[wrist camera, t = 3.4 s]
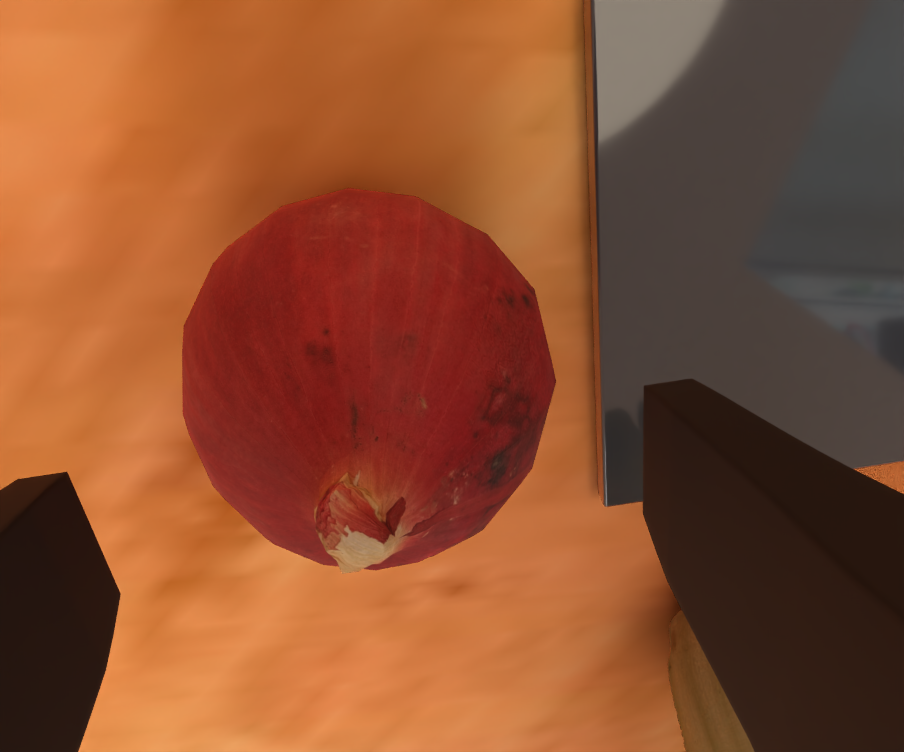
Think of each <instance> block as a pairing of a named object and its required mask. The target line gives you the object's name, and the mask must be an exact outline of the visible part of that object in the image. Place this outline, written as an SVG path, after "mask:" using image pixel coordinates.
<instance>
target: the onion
mask: <svg viewBox="0 0 904 752" xmlns="http://www.w3.org/2000/svg"><path fill="white" fill-rule="evenodd" d="M182 378H183V416H184V419H185V422H186V426H187V429H188V432H189V435H190V437H191V439H192V442H193V444H194V446H195V448H196V450H197V452H198V454H199V457H200V459H201V461H202V463H203V465H204V467H205V469H206V472H207V474H208V476H209V478H210V480H211V482H212V485H213V487H214V488H215V489H216V490H217V491H218V492H219V493H220V494H221V495H222V497H223V498H224V499H225V500H226V501H227V502H228V503H229V504H230V505H231V506H232V507H234V508H235V509H236V510H237V511H238V512H239V513H240V514H241V515H242V516H243V517H244V518H245V519H246V520H247V521H248V522H249V523H250V524H251V525H252V526H253V527H254V528H256V529H257V530H258V531H259V532H260V533H261V534H262V535H263V536H264V537H265V538H266V539H268V540H269V541H270V542H272V543H273V544H275V545H277V546H279V547H282V548H284V549H287V550H289V551H291V552H294V553H296V554H299V555H301V556H303V557H306V558H308V559H311V560H313V561H316V562H318V563H320V564H323V565H330V566H339V567H340V570H341V572H342V573H351V572H358V571H360V570H362V569H369V570H379V569H384V568H389V567H395V566H400V565H406V564H411V563H416V562H420V561H422V560H424V559H426V558H428V557H431V556H434V555H436V554H438V553H440V552H442V551H444V550H446V549H448V548H450V547H452V546H454V545H456V544H458V543H460V542H462V541H464V540H466V539H468V538H470V537H472V536H474V535H475V534H477V533H478V532H480V531H481V530H483V529H484V528H485V527H486V525H487V524H488V523H489V522H490V520H491V519H492V518H493V517H494V516H495V514H496V513H497V512H498V511H499V509H500V508H501V507H502V506H503V505H504V503H505V502H506V501H507V500H508V498H509V497H510V496H511V495H512V494H513V492H514V491H515V490H516V489H517V487H518V486H519V485H520V484H521V483H522V481H523V480H524V478H525V477H526V476H527V474H528V473H529V472H530V470H531V469H532V467H533V463H534V460H535V456H536V453H537V449H538V445H539V442H540V438H541V434H542V431H543V427H544V424H545V420H546V416H547V413H548V409H549V405H550V402H551V398H552V394H553V391H554V387H555V383H556V379H555V374H554V370H553V365H552V360H551V356H550V352H549V348H548V344H547V340H546V335H545V331H544V327H543V323H542V319H541V315H540V310H539V306H538V302H537V298H536V294H535V290H534V288H533V287H532V286H531V285H530V284H529V283H528V281H527V280H526V279H525V278H524V277H523V276H522V274H521V273H520V272H519V271H518V270H517V269H516V267H515V266H514V265H513V264H512V263H511V261H510V260H509V259H508V258H507V257H506V256H505V254H504V253H503V252H502V251H501V250H500V249H499V247H498V246H497V245H496V244H495V243H494V242H493V240H492V239H491V238H490V237H489V236H488V235H487V234H486V233H484V232H482V231H480V230H478V229H476V228H474V227H472V226H470V225H468V224H466V223H464V222H462V221H460V220H459V219H457V218H455V217H453V216H451V215H449V214H448V213H446V212H444V211H442V210H440V209H438V208H436V207H435V206H433V205H431V204H429V203H427V202H425V201H424V200H422V199H420V198H418V197H416V196H409V195H401V194H393V193H385V192H377V191H369V190H361V189H353V188H347V189H343V190H339V191H336V192H332V193H328V194H325V195H321V196H317V197H314V198H310V199H306V200H303V201H299V202H295V203H292V204H288V205H284V206H281V207H280V208H279V209H277V210H276V211H275V212H273V213H272V214H271V215H269V216H268V217H267V218H265V219H264V220H263V221H261V222H260V223H259V224H257V225H256V226H255V227H253V228H252V229H251V230H249V231H248V232H247V233H245V234H244V235H243V236H241V237H240V238H239V239H237V240H236V241H235V242H233V243H232V244H231V245H229V246H228V247H227V248H226V249H225V251H224V252H223V253H222V254H221V255H220V256H219V257H218V259H217V260H216V261H215V262H214V263H213V265H212V267H211V269H210V271H209V273H208V275H207V278H206V280H205V282H204V284H203V286H202V288H201V290H200V292H199V295H198V297H197V299H196V301H195V303H194V305H193V307H192V309H191V312H190V314H189V316H188V318H187V320H186V322H185V324H184V332H183V349H182Z"/></svg>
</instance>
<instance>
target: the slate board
mask: <svg viewBox="0 0 904 752" xmlns="http://www.w3.org/2000/svg"><path fill="white" fill-rule="evenodd" d="M583 2H584V35H585V68H586V101H587V135H588V168H589V201H590V234H591V268H592V301H593V334H594V368H595V401H596V434H597V467H598V493H599V496H600V498H601V500H602V503H603V505H604V506H605V507H610V506H616V505H623V504H629V503H636V502H642V501H643V410H644V385H651V384H657V383H664V382H671V381H677V380H684V379H691V378H692V379H694V380H696V381H698V382H700V383H702V384H704V385H705V386H707V387H709V388H711V389H713V390H714V391H716V392H718V393H720V394H721V395H723V396H725V397H727V398H728V399H730V400H732V401H733V402H735V403H737V404H738V405H740V406H742V407H744V408H745V409H747V410H749V411H750V412H752V413H754V414H755V415H757V416H759V417H761V418H762V419H764V420H766V421H767V422H769V423H771V424H772V425H774V426H776V427H778V428H779V429H781V430H783V431H785V432H786V433H788V434H790V435H792V436H793V437H795V438H797V439H799V440H800V441H802V442H804V443H806V444H808V445H809V446H811V447H813V448H815V449H816V450H818V451H820V452H822V453H824V454H826V455H827V456H829V457H831V458H833V459H835V460H837V461H839V462H841V463H842V464H844V465H846V466H848V467H850V468H852V469H857V468H864V467H870V466H877V465H883V464H890V463H896V462H903V461H904V0H583Z"/></svg>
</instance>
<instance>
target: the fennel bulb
mask: <svg viewBox="0 0 904 752" xmlns="http://www.w3.org/2000/svg"><path fill="white" fill-rule="evenodd" d="M669 641H670V648H671V649H670V655H669V659H668V672H669V681H670V686H671V691H672V695H673V701H674V706H675V708H676V711H677V717H678V721H679V724H680V728H681V730H682V736H683V738H684V746H685V749H686V752H754V749H753V747H752V745H751V743H750V741H749V739H748V737H747V735H746V733H745V731H744V729H743V727H742V725H741V723H740V721H739V719H738V717H737V716H736V714H735V712H734V710H733V708H732V706H731V704H730V702H729V700H728V698H727V696H726V694H725V692H724V691H723V689H722V687H721V685H720V683H719V681H718V679H717V677H716V675H715V673H714V671H713V669H712V667H711V666H710V664H709V662H708V660H707V658H706V656H705V654H704V652H703V650H702V648H701V646H700V644H699V642H698V641H697V639H696V637H695V635H694V633H693V631H692V629H691V627H690V625H689V623H688V621H687V619H686V617H685V615H684V613H683V611H682V609H681V610H680V611H679V612H678V613H677V614H676V615H675V616H674V617H673V619H672V620H671V623H670V627H669Z"/></svg>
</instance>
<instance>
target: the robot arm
mask: <svg viewBox="0 0 904 752" xmlns="http://www.w3.org/2000/svg"><path fill="white" fill-rule="evenodd" d="M643 515H644V518H645V521H646V524H647V526H648V529H649V532H650V535H651V538H652V541H653V544H654V547H655V549H656V552H657V555H658V558H659V560H660V563H661V566H662V568H663V571H664V574H665V576H666V579H667V581H668V583H669V585H670V588H671V590H672V592H673V594H674V596H675V598H676V600H677V601H678V603H679V605H680V607H681V609H682V611H683V613H684V615H685V617H686V619H687V621H688V623H689V625H690V627H691V629H692V631H693V633H694V635H695V637H696V639H697V641H698V642H699V644H700V646H701V648H702V650H703V652H704V654H705V656H706V658H707V660H708V662H709V664H710V666H711V667H712V669H713V671H714V673H715V675H716V677H717V679H718V681H719V683H720V685H721V687H722V689H723V691H724V692H725V694H726V696H727V698H728V700H729V702H730V704H731V706H732V708H733V710H734V712H735V714H736V716H737V717H738V719H739V721H740V723H741V725H742V727H743V729H744V731H745V733H746V735H747V737H748V739H749V741H750V743H751V745H752V747H753V749H754V752H904V494H902V493H900V492H898V491H896V490H894V489H892V488H890V487H888V486H886V485H884V484H882V483H880V482H878V481H876V480H874V479H872V478H870V477H868V476H866V475H863V474H861V473H859V472H858V471H856V470H854V469H852V468H850V467H848V466H846V465H844V464H842V463H841V462H839V461H837V460H835V459H833V458H831V457H829V456H827V455H826V454H824V453H822V452H820V451H818V450H816V449H815V448H813V447H811V446H809V445H808V444H806V443H804V442H802V441H800V440H799V439H797V438H795V437H793V436H792V435H790V434H788V433H786V432H785V431H783V430H781V429H779V428H778V427H776V426H774V425H772V424H771V423H769V422H767V421H766V420H764V419H762V418H761V417H759V416H757V415H755V414H754V413H752V412H750V411H749V410H747V409H745V408H744V407H742V406H740V405H738V404H737V403H735V402H733V401H732V400H730V399H728V398H727V397H725V396H723V395H721V394H720V393H718V392H716V391H714V390H713V389H711V388H709V387H707V386H705V385H704V384H702V383H700V382H698V381H696V380H694V379H692V378H691V379H684V380H677V381H671V382H664V383H657V384H651V385H644V410H643ZM119 600H120V592H119V589H118V587H117V585H116V583H115V580H114V578H113V576H112V573H111V571H110V569H109V566H108V564H107V562H106V560H105V557H104V555H103V553H102V550H101V548H100V546H99V544H98V541H97V539H96V537H95V534H94V532H93V530H92V528H91V525H90V523H89V521H88V518H87V516H86V514H85V512H84V509H83V507H82V505H81V502H80V500H79V498H78V496H77V493H76V491H75V489H74V486H73V484H72V482H71V480H70V477H69V475H68V473H67V472H63V473H56V474H50V475H43V476H36V477H30V478H23V479H17V480H16V481H14V482H13V483H11V484H9V485H8V486H6V487H5V488H3V489H2V490H0V752H78V750H79V748H80V745H81V742H82V739H83V736H84V733H85V730H86V728H87V725H88V722H89V719H90V716H91V713H92V710H93V707H94V704H95V701H96V698H97V695H98V692H99V689H100V686H101V683H102V680H103V677H104V674H105V671H106V667H107V662H108V657H109V653H110V648H111V643H112V639H113V634H114V628H115V623H116V617H117V611H118V605H119Z"/></svg>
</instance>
